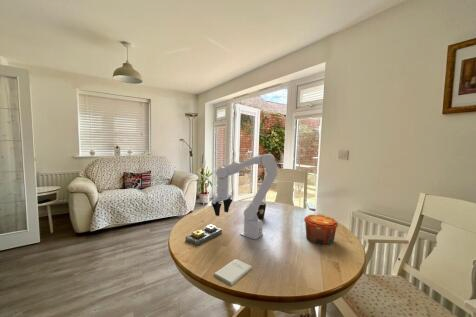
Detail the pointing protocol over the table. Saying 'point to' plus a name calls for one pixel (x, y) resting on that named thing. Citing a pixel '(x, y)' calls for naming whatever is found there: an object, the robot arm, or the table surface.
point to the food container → (320, 229)
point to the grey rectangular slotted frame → (205, 238)
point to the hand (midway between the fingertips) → (221, 213)
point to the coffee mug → (261, 210)
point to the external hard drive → (233, 271)
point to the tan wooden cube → (198, 234)
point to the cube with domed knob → (210, 228)
